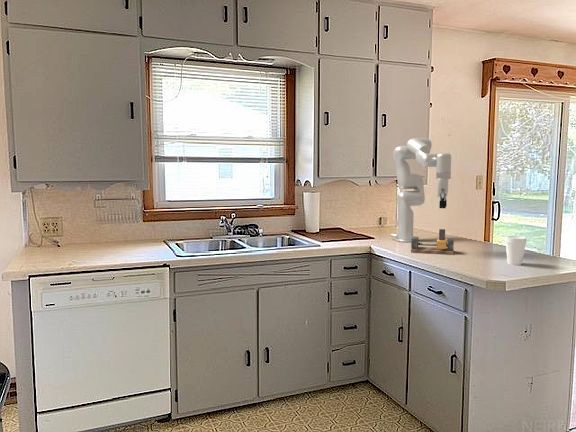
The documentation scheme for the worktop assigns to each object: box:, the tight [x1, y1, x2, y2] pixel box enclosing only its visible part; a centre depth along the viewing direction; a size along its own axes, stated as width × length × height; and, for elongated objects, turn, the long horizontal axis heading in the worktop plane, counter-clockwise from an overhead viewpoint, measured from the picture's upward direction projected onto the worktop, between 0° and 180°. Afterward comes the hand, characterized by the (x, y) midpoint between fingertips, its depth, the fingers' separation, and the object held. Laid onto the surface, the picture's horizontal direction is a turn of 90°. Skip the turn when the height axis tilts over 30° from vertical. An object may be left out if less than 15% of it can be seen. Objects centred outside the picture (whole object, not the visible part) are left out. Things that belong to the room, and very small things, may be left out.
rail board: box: [410, 236, 455, 256], centre depth 265 cm, size 22×12×8 cm, turn 69°
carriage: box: [436, 228, 448, 249], centre depth 263 cm, size 5×7×10 cm
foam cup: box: [504, 235, 527, 266], centre depth 231 cm, size 10×9×13 cm
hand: (443, 207), depth 261 cm, fingers open, 9 cm apart
